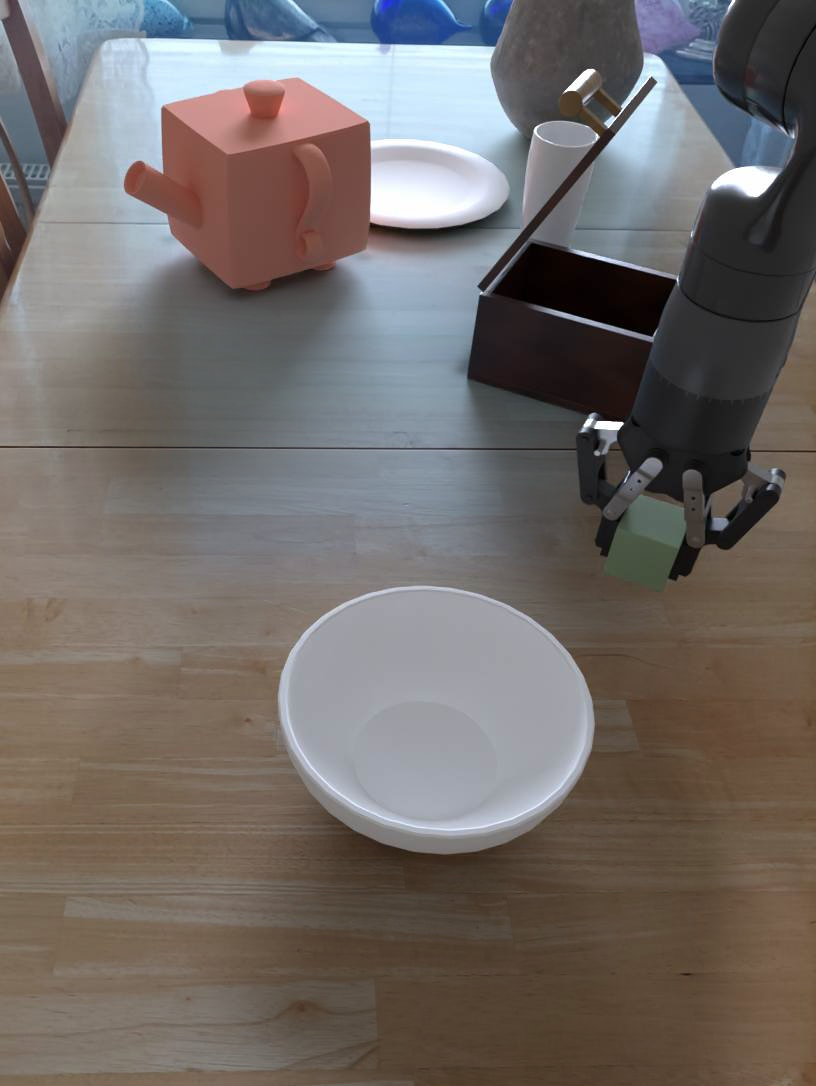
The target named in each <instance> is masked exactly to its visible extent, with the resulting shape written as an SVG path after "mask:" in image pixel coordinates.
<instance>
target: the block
mask: <svg viewBox="0 0 816 1086" xmlns="http://www.w3.org/2000/svg"><path fill="white" fill-rule="evenodd" d="M685 534H686V521H684V507H682V506H679V505H675V504H672V503H668V502H666V501H663V500H660V499H657V498H653V497H651V496H648V495H644V494H642V493H641V494H640V495H639V496H638V497H637V499H636V500H635V501H634V502H633V503H632V504H630V505H629V506H628V507H627V509H626V510H625V512H624V514H623V516H622V518H621V521H620V523H619V525H618V527H617V529H616V532H615V535H614V539H613V542H612V545H611V548H610V551H609V554H608V557H606V560H605V563H604V565H603V569H602V573H604V574H607V575H609V576H612V577H614V578H618V579H621V580H623V581H626V582H630V583H632V584H635V585H638V586H641V587H644V588H647V589H649V590H652V591H654V592H658V593H663V591H664V588H665V586H666V583H667V581H668V580H669V579H668V576H669V574H670V571H671V569H672V566H673V564H674V561H675V559H676V556H677V554H678V551H679V549H680V546H681V544H682V541H683V539H684V536H685Z"/></svg>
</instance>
